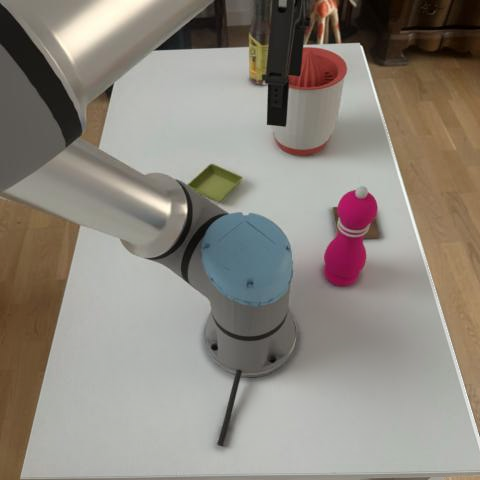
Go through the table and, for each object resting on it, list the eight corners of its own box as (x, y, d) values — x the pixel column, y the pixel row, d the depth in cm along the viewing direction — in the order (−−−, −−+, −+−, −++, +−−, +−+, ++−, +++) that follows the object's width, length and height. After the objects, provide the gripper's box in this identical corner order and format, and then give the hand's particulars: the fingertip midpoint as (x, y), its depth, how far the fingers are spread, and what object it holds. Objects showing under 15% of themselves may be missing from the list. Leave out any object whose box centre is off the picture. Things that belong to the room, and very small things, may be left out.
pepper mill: (350, 254, 84) (373, 166, 67) (367, 282, 80) (397, 197, 63) (314, 264, 83) (329, 178, 66) (331, 293, 79) (351, 210, 62)
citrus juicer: (278, 112, 109) (281, 23, 92) (345, 131, 104) (361, 40, 87) (248, 149, 102) (246, 59, 85) (319, 170, 97) (332, 80, 80)
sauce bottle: (248, 74, 119) (246, -12, 102) (271, 72, 119) (273, -15, 102) (251, 88, 115) (249, 0, 98) (274, 85, 115) (277, -2, 98)
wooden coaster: (378, 238, 86) (379, 234, 85) (337, 239, 86) (337, 236, 85) (371, 209, 90) (372, 205, 89) (332, 210, 90) (332, 206, 89)
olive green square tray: (212, 170, 98) (211, 162, 96) (244, 184, 95) (243, 177, 93) (187, 193, 94) (186, 185, 93) (220, 208, 92) (219, 201, 90)
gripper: (315, -44, 41) (296, 152, 59) (342, -121, 55) (320, 58, 72) (237, -49, 42) (242, 145, 60) (282, -123, 56) (275, 54, 73)
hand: (284, 98), depth 66 cm, fingers open, 13 cm apart
